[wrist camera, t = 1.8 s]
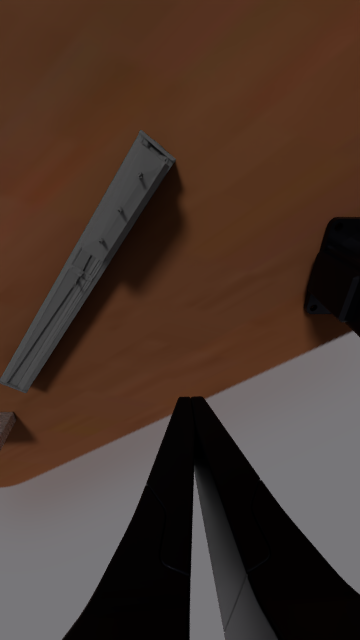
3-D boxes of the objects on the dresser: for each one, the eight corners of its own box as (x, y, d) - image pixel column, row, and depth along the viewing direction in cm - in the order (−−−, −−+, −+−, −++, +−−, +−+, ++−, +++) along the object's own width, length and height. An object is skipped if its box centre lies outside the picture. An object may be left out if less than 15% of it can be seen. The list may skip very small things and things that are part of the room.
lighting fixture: (44, 376, 23) (22, 419, 19) (11, 361, 22) (-18, 404, 18) (183, 164, 16) (190, 172, 12) (142, 130, 15) (137, 126, 11)
